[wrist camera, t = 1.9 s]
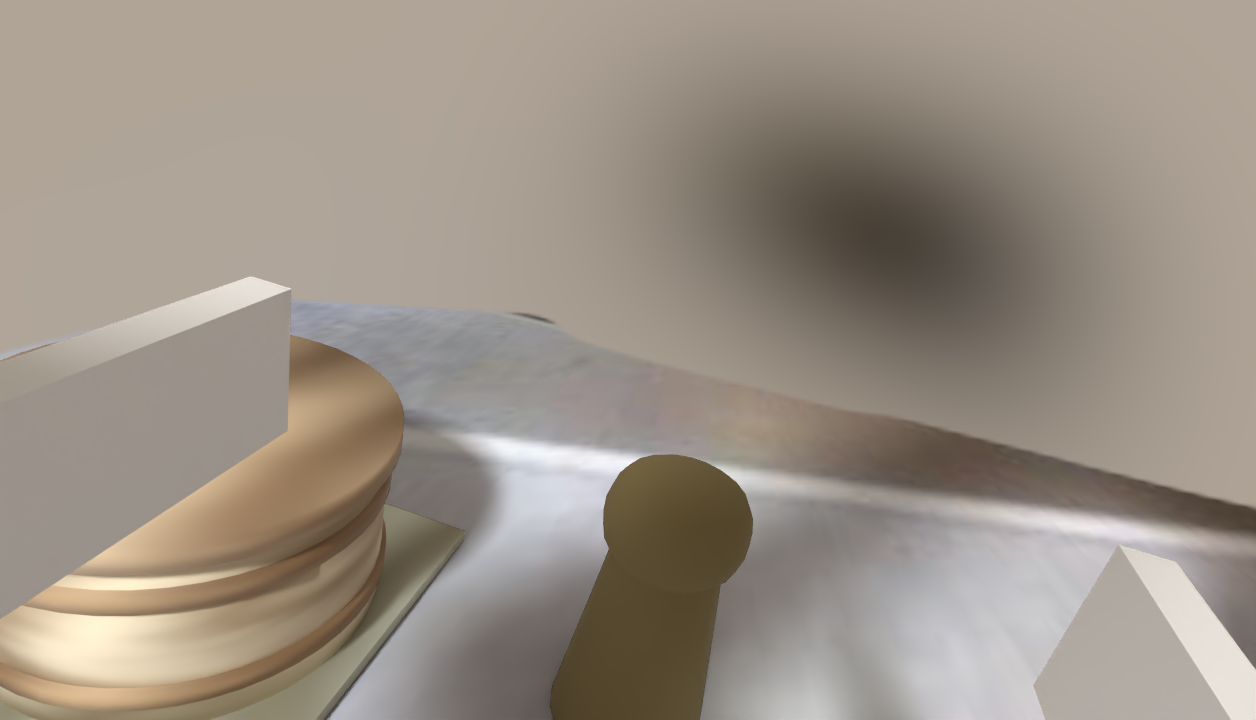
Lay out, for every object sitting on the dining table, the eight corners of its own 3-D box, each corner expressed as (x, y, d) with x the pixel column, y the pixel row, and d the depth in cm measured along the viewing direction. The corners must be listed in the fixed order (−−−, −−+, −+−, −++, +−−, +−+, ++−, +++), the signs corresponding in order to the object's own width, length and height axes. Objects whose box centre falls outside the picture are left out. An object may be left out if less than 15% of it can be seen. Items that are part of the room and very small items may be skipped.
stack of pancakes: (463, 540, 36) (484, 387, 33) (221, 852, 22) (212, 637, 18) (185, 444, 38) (177, 293, 35) (-202, 668, 24) (-281, 446, 20)
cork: (544, 645, 31) (590, 424, 27) (679, 647, 32) (744, 438, 28) (556, 779, 26) (616, 531, 21) (716, 774, 27) (804, 541, 23)
